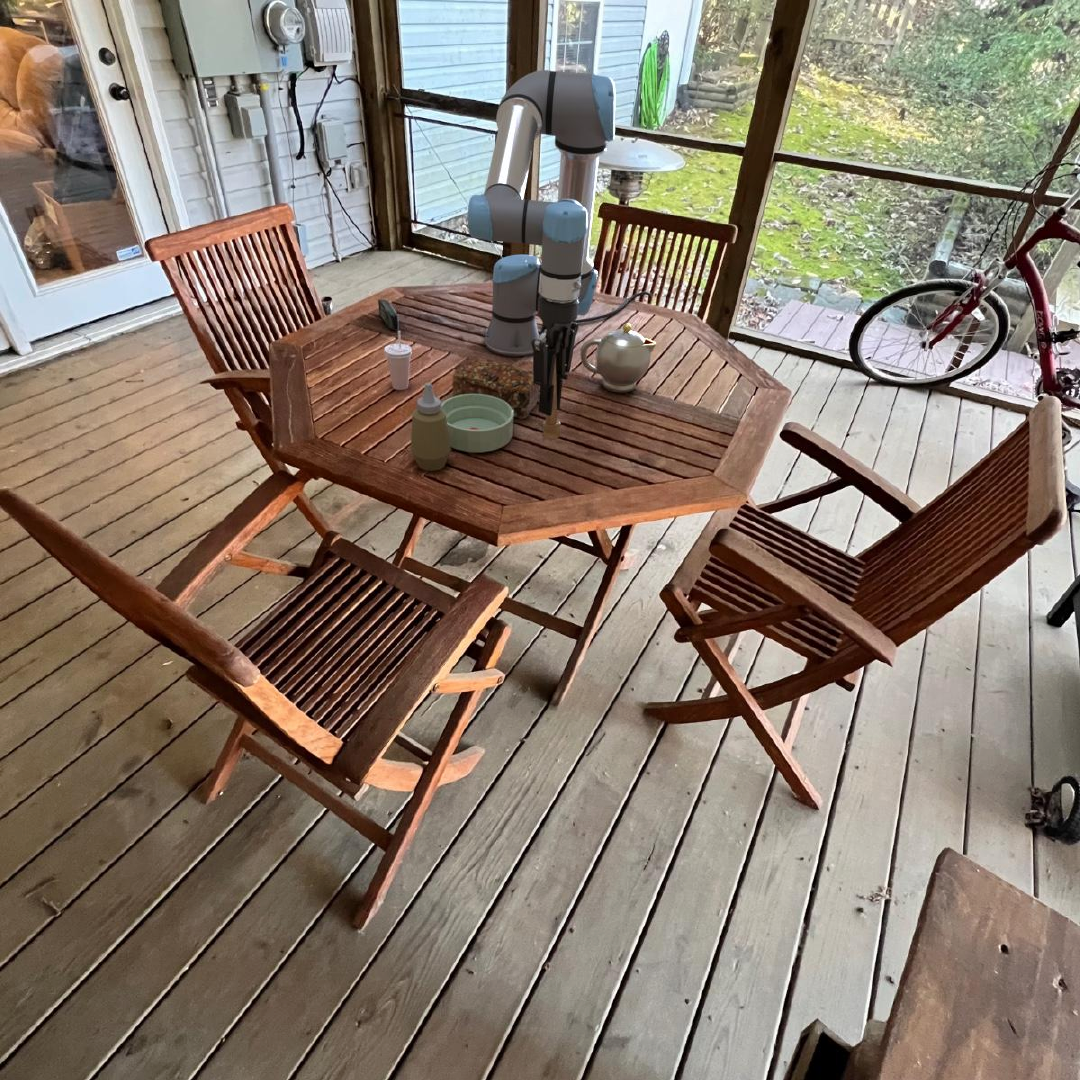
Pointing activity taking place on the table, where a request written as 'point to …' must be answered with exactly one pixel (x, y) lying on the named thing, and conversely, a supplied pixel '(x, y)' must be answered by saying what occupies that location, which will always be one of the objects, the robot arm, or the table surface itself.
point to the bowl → (478, 422)
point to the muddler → (551, 423)
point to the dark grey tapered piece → (388, 314)
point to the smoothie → (398, 363)
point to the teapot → (620, 358)
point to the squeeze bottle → (430, 432)
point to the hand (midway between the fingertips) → (549, 410)
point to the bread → (497, 383)
